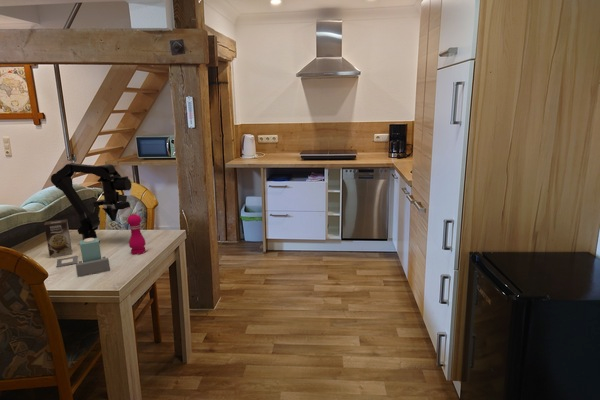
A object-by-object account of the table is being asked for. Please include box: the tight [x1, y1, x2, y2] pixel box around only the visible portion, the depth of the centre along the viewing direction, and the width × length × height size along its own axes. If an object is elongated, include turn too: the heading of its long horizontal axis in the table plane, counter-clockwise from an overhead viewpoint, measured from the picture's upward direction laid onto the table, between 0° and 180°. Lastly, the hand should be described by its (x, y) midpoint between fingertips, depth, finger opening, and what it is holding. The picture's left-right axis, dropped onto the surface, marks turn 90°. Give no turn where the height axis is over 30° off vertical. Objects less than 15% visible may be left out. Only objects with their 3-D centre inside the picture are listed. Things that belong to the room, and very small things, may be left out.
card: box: [56, 255, 79, 268], centre depth 176 cm, size 10×8×1 cm
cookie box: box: [43, 218, 73, 259], centre depth 184 cm, size 9×6×16 cm
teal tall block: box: [79, 237, 103, 263], centre depth 166 cm, size 6×7×13 cm
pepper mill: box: [126, 211, 146, 256], centre depth 183 cm, size 7×7×20 cm
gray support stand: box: [75, 256, 111, 278], centre depth 166 cm, size 11×12×5 cm
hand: (113, 221), depth 196 cm, fingers closed
